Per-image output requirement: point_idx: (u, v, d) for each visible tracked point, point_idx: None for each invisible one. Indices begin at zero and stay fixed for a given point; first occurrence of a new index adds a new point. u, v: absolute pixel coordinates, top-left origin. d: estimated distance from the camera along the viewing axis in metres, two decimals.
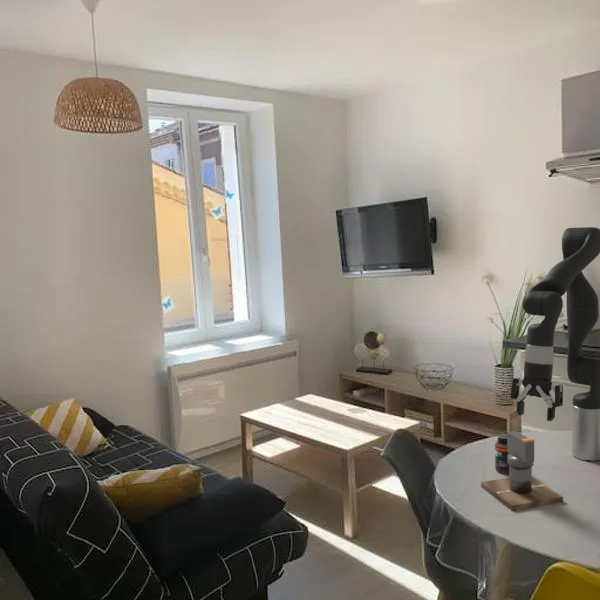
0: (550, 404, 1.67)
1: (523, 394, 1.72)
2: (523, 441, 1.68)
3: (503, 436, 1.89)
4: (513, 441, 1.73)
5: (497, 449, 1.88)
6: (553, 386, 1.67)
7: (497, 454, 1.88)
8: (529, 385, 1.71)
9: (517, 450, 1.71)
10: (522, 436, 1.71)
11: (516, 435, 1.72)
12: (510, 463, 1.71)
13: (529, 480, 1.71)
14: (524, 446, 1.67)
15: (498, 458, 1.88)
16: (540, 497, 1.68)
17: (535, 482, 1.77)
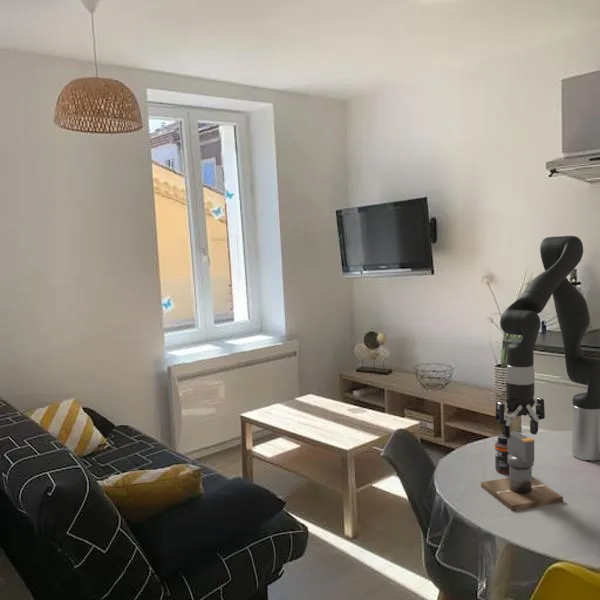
0: (537, 418, 1.71)
1: (514, 417, 1.68)
2: (523, 441, 1.68)
3: (503, 436, 1.89)
4: (513, 441, 1.73)
5: (497, 449, 1.88)
6: (536, 400, 1.71)
7: (497, 454, 1.88)
8: (520, 406, 1.68)
9: (517, 450, 1.71)
10: (522, 436, 1.71)
11: (516, 435, 1.72)
12: (510, 463, 1.71)
13: (529, 480, 1.71)
14: (524, 446, 1.67)
15: (498, 458, 1.88)
16: (540, 497, 1.68)
17: (535, 482, 1.77)
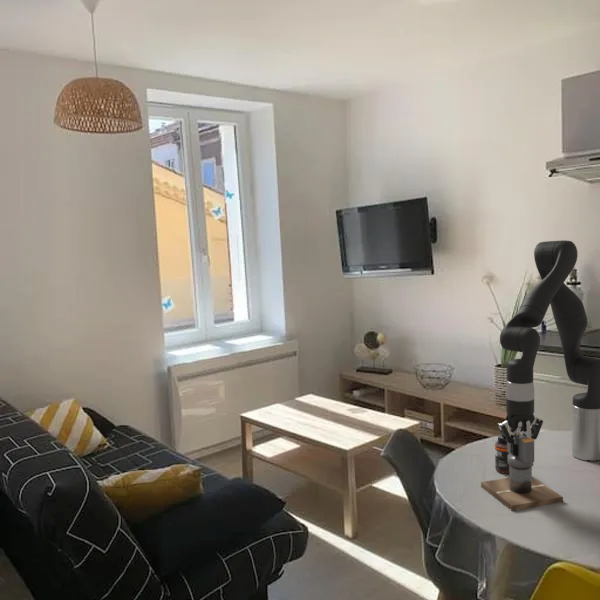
0: None
1: (518, 434, 1.69)
2: (523, 441, 1.68)
3: None
4: None
5: (497, 449, 1.88)
6: (536, 419, 1.72)
7: (497, 454, 1.88)
8: (519, 423, 1.69)
9: None
10: (522, 436, 1.71)
11: None
12: (510, 463, 1.71)
13: (529, 480, 1.71)
14: (524, 446, 1.67)
15: (498, 458, 1.88)
16: (540, 497, 1.68)
17: (535, 482, 1.77)
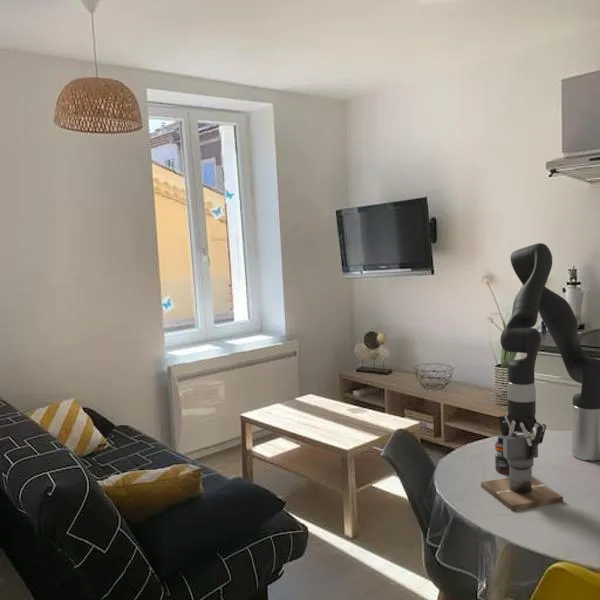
0: None
1: None
2: None
3: None
4: (518, 444, 1.70)
5: (497, 449, 1.88)
6: None
7: (497, 454, 1.88)
8: None
9: (524, 450, 1.71)
10: (520, 435, 1.72)
11: (517, 437, 1.71)
12: (527, 465, 1.69)
13: (529, 480, 1.71)
14: None
15: (498, 458, 1.88)
16: (540, 497, 1.68)
17: (535, 482, 1.77)
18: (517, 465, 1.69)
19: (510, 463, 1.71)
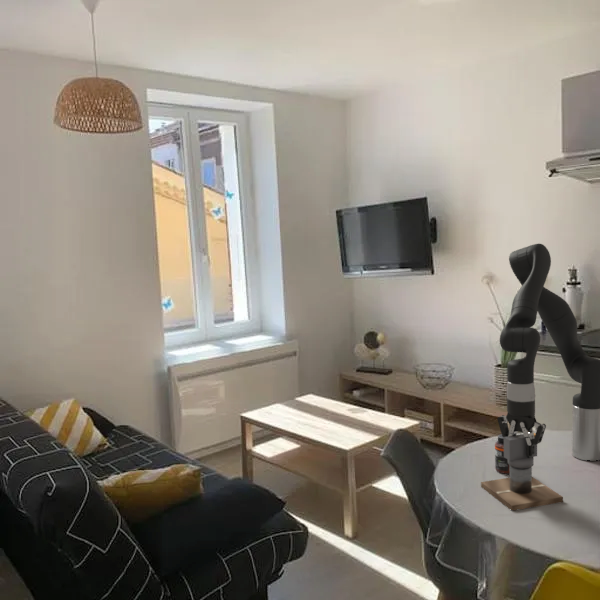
0: None
1: None
2: (534, 436, 1.71)
3: None
4: (519, 444, 1.70)
5: (497, 449, 1.88)
6: None
7: (497, 454, 1.88)
8: None
9: (525, 450, 1.71)
10: (519, 435, 1.72)
11: (518, 437, 1.71)
12: (529, 465, 1.69)
13: (529, 480, 1.71)
14: None
15: (498, 458, 1.88)
16: (540, 497, 1.68)
17: (535, 482, 1.77)
18: (520, 465, 1.69)
19: (512, 464, 1.71)
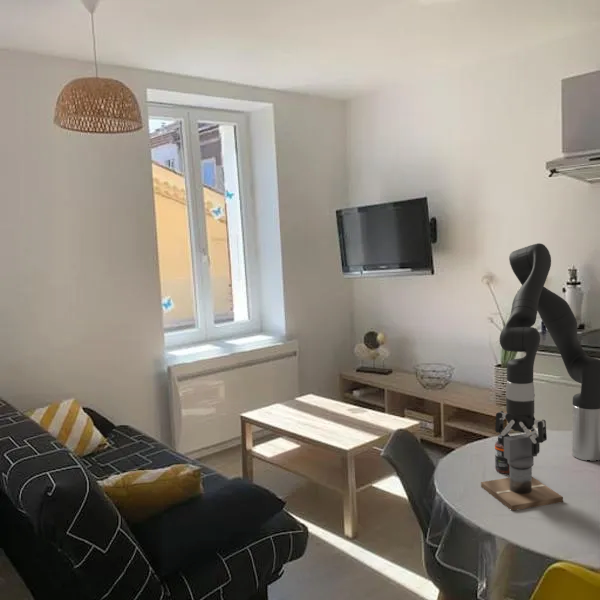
0: None
1: None
2: None
3: None
4: (519, 444, 1.70)
5: (497, 449, 1.88)
6: None
7: (497, 454, 1.88)
8: None
9: (525, 450, 1.71)
10: (519, 435, 1.72)
11: (518, 437, 1.71)
12: (529, 465, 1.69)
13: (529, 480, 1.71)
14: None
15: (498, 458, 1.88)
16: (540, 497, 1.68)
17: (535, 482, 1.77)
18: (520, 465, 1.69)
19: (512, 464, 1.71)
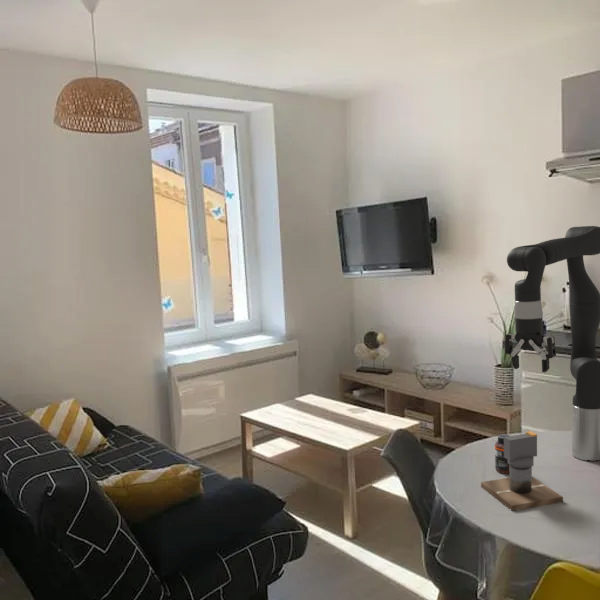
0: None
1: None
2: (534, 436, 1.71)
3: (503, 436, 1.89)
4: (519, 444, 1.70)
5: (497, 449, 1.88)
6: None
7: (497, 454, 1.88)
8: None
9: (525, 450, 1.71)
10: (519, 435, 1.72)
11: (518, 437, 1.71)
12: (529, 465, 1.69)
13: (529, 480, 1.71)
14: (535, 440, 1.71)
15: (498, 458, 1.88)
16: (540, 497, 1.68)
17: (535, 482, 1.77)
18: (520, 465, 1.69)
19: (512, 464, 1.71)
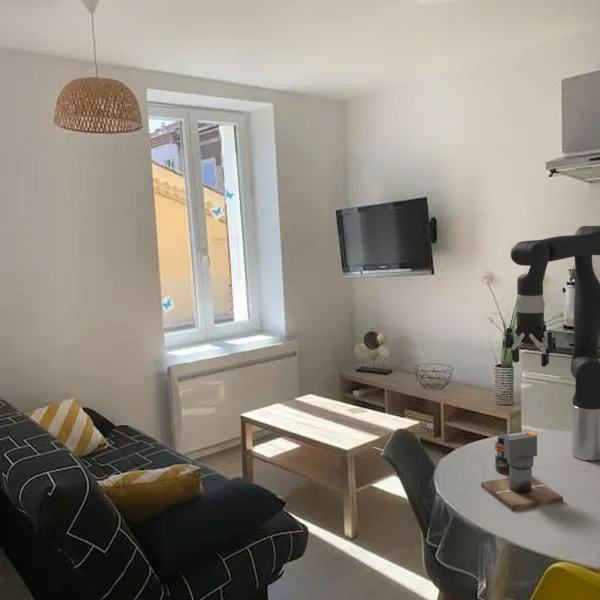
0: None
1: None
2: (534, 436, 1.71)
3: (503, 436, 1.89)
4: (519, 444, 1.70)
5: (497, 449, 1.88)
6: None
7: (497, 454, 1.88)
8: None
9: (525, 450, 1.71)
10: (519, 435, 1.72)
11: (518, 437, 1.71)
12: (529, 465, 1.69)
13: (529, 480, 1.71)
14: (535, 440, 1.71)
15: (498, 458, 1.88)
16: (540, 497, 1.68)
17: (535, 482, 1.77)
18: (520, 465, 1.69)
19: (512, 464, 1.71)
